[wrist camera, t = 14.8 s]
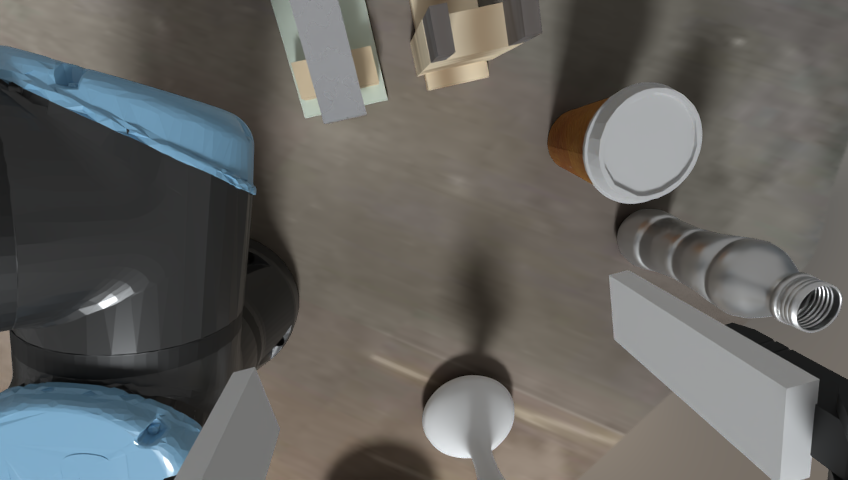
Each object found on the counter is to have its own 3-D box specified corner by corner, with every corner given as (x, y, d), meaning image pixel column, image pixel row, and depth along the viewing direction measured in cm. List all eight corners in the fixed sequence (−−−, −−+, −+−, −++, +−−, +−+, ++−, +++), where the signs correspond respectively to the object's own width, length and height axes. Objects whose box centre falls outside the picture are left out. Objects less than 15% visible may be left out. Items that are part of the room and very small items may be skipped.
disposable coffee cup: (515, 130, 41) (571, 132, 30) (592, 72, 41) (678, 52, 29) (560, 202, 44) (626, 229, 33) (632, 149, 44) (725, 159, 32)
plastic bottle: (612, 267, 47) (775, 364, 28) (605, 213, 45) (775, 278, 26) (663, 251, 48) (858, 337, 29) (658, 197, 46) (865, 250, 26)
